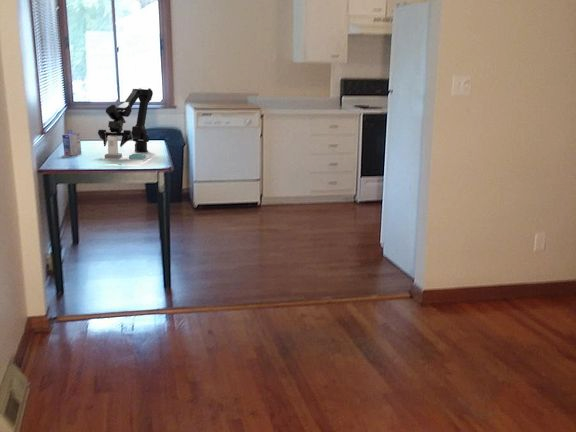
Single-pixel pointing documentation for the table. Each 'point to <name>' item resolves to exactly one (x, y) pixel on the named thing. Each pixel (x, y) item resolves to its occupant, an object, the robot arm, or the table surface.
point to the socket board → (126, 157)
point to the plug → (112, 145)
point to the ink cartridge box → (71, 143)
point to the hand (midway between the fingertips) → (112, 146)
